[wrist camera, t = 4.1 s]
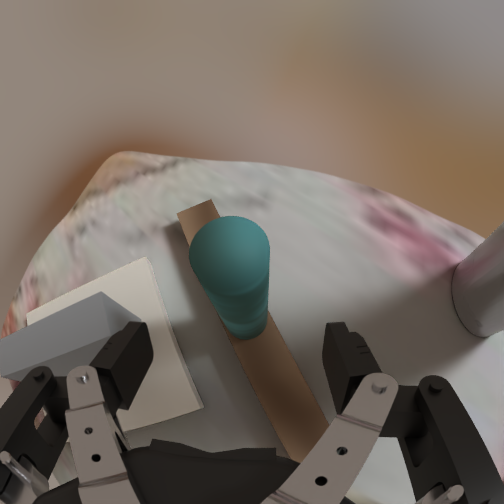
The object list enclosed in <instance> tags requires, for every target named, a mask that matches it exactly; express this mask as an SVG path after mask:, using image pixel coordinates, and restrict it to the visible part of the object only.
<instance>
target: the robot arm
mask: <svg viewBox="0 0 504 504" xmlns="http://www.w3.org/2000/svg"><path fill="white" fill-rule="evenodd" d="M452 295H453V301H454V305H455V308H456V311H457V313H458V316H459V318H460V320H461V321H462V323H463V324H464V326H465V327H466V328H467V329H468V330H469V331H470V332H471V333H473V334H474V335H476V336H479V337H488V336H490V335H493V334H495V333H498V332H500V331H502V330H504V222H503V223H502V224H501V225H500V226H499V227H498V228H497V229H496V230H495V231H494V232H493V233H492V234H491V235H490V236H489V237H488V238H487V239H486V240H485V241H484V242H483V243H482V244H480V245H479V246H478V247H477V248H476V249H475V250H474V251H473V252H472V253H471V254H470V255H469V256H467V257H466V258H465V259H464V260H463V261H462V262H461V263H460V264H459V265H458V266H457V268H456V269H455V272H454V275H453V281H452ZM153 357H154V352H153V347H152V343H151V339H150V335H149V331H148V327H147V324H146V323H145V322H137V321H129V322H128V323H127V325H126V326H125V327H124V328H123V330H122V331H121V330H120V331H118V332H117V333H115V334H114V335H112V336H111V337H110V338H109V340H108V341H107V342H106V344H105V345H104V346H103V347H102V349H101V350H100V351H99V352H98V354H97V355H96V356H95V358H94V359H93V360H92V362H91V363H90V364H89V365H88V366H86V365H84V366H79V367H76V368H74V369H72V370H71V371H70V372H69V373H68V375H67V376H54V374H53V372H52V370H51V369H50V368H49V367H47V366H39V367H36V368H34V369H32V370H31V371H30V372H29V373H28V374H27V375H26V376H25V377H24V379H23V380H22V381H21V382H20V384H19V385H18V386H17V387H16V389H15V390H14V391H13V393H12V394H11V395H10V396H9V398H8V399H7V401H6V402H5V403H4V404H3V406H2V407H1V408H0V504H355V503H354V502H352V501H351V500H349V499H348V498H347V497H345V495H346V493H347V491H348V490H349V488H350V487H351V485H352V484H353V482H354V480H355V479H356V477H357V475H358V474H359V472H360V470H361V468H362V467H363V465H364V463H365V461H366V460H367V458H368V456H369V454H370V452H371V450H372V448H373V446H374V444H375V442H376V440H377V438H378V437H397V439H398V442H399V445H400V448H401V451H402V454H403V457H404V460H405V464H406V467H407V470H408V474H409V477H410V481H411V484H412V488H413V492H414V495H415V499H416V503H415V504H504V485H503V482H502V480H501V477H500V475H499V473H498V471H497V468H496V466H495V464H494V462H493V460H492V458H491V456H490V454H489V452H488V450H487V448H486V446H485V444H484V442H483V440H482V438H481V436H480V434H479V432H478V430H477V429H476V427H475V425H474V423H473V421H472V420H471V418H470V416H469V414H468V413H467V411H466V409H465V408H464V406H463V404H462V402H461V401H460V399H459V397H458V396H457V394H456V393H455V391H454V389H453V388H452V386H451V385H450V383H449V382H448V381H447V380H446V379H444V378H443V377H440V376H436V375H430V376H426V377H424V378H423V379H422V380H421V381H420V383H419V385H418V386H403V385H398V383H397V381H396V380H395V379H394V378H393V377H391V376H390V375H387V374H384V373H382V371H381V369H380V368H379V366H378V364H377V362H376V360H375V358H374V356H373V355H372V353H371V351H370V349H369V347H367V344H366V342H365V340H364V338H363V337H361V336H360V335H359V334H358V333H356V332H349V331H348V329H347V327H346V325H345V323H344V322H334V323H327V324H326V328H325V336H324V344H323V352H322V360H323V366H324V369H325V373H326V376H327V380H328V383H329V387H330V390H331V394H332V397H333V401H334V405H335V408H336V412H337V416H336V417H335V419H334V420H333V421H332V423H331V424H330V426H329V427H328V429H327V430H326V431H325V433H324V434H323V436H322V437H321V438H320V440H319V441H318V442H317V444H316V445H315V446H314V447H313V449H312V450H311V451H310V453H309V454H308V455H307V456H306V458H305V459H304V460H303V461H302V463H299V462H297V461H294V460H292V459H288V458H285V457H280V456H276V448H242V449H236V450H230V451H223V452H215V453H209V452H205V451H202V450H199V449H196V448H193V447H190V446H187V445H184V444H181V443H175V442H169V441H163V440H157V439H152V441H151V444H150V446H146V447H139V448H134V449H131V447H130V445H129V443H128V441H127V438H126V436H125V433H124V431H123V428H122V426H121V423H120V420H119V418H118V415H117V414H116V412H117V410H118V409H123V410H129V408H130V406H131V404H132V402H133V400H134V398H135V396H136V394H137V392H138V390H139V388H140V386H141V384H142V382H143V380H144V378H145V376H146V374H147V372H148V370H149V368H150V366H151V364H152V361H153ZM42 407H43V409H44V410H45V412H46V413H47V414H46V416H45V417H44V419H43V421H42V422H41V424H40V426H39V427H38V429H37V430H36V428H35V426H34V420H35V417H36V416H37V414H38V413H39V411H40V410H41V408H42ZM68 437H69V440H70V445H71V450H72V454H73V459H74V463H75V467H76V471H77V475H78V477H77V478H75V479H73V480H71V481H69V482H67V483H65V484H63V485H60V486H58V487H56V488H54V489H52V490H49V483H48V480H49V477H50V475H51V473H52V471H53V469H54V466H55V464H56V462H57V460H58V458H59V456H60V454H61V452H62V450H63V447H64V445H65V443H66V441H67V439H68Z"/></svg>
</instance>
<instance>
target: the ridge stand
mask: <svg viewBox="0 0 504 504" xmlns="http://www.w3.org/2000/svg"><path fill="white" fill-rule="evenodd" d="M129 321H137V322H145V323H146V324H147V327H148V331H149V335H150V339H151V343H152V347H153V352H154V357H153V361H152V364H151V366H150V368H149V370H148V372H147V374H146V376H145V378H144V380H143V382H142V384H141V386H140V388H139V390H138V392H137V394H136V396H135V398H134V400H133V402H132V404H131V406H130V408H129V410H123V409H118V410H117V412H116V414H117V415H118V418H119V420H120V423H121V426H122V428H123V431H129V430H133V429H137V428H140V427H144V426H148V425H151V424H155V423H158V422H162V421H165V420H168V419H172V418H175V417H178V416H181V415H184V414H187V413H190V412H193V411H196V410H199V409H202V408H204V405H203V403H202V400H201V398H200V396H199V394H198V391H197V389H196V387H195V385H194V382H193V380H192V378H191V375H190V373H189V370H188V368H187V365H186V363H185V361H184V358H183V356H182V353H181V350H180V348H179V345H178V343H177V340H176V337H175V335H174V332H173V329H172V326H171V324H170V321H169V318H168V315H167V312H166V309H165V306H164V303H163V300H162V297H161V294H160V291H159V288H158V285H157V281H156V278H155V275H154V271H153V268H152V265H151V263H150V261H149V260H148V259H147V258H146V256H145V257H143V258H140V259H138V260H136V261H134V262H132V263H129V264H127V265H125V266H123V267H121V268H118V269H116V270H114V271H112V272H110V273H108V274H106V275H103V276H101V277H99V278H97V279H95V280H93V281H91V282H89V283H87V284H84V285H82V286H80V287H78V288H76V289H74V290H72V291H70V292H68V293H66V294H64V295H62V296H60V297H58V298H56V299H54V300H52V301H50V302H48V303H46V304H44V305H42V306H40V307H38V308H36V309H34V310H32V311H30V312H29V313H27V327H24V328H22V329H20V330H18V331H16V332H14V333H12V334H10V335H8V336H6V337H4V338H2V339H0V373H1V377H3V378H8V379H11V380H16V381H20V382H21V381H22V380H23V379H24V377H25V376H26V375H27V374H28V373H29V372H30V371H31V370H32V369H34V368H36V367H39V366H47V367H49V368H50V369H51V370H52V372H53V374H54V376H67V375H68V373H69V372H70V371H71V370H72V369H74V368H76V367H79V366H84V365H86V366H88V365H89V364H90V363H91V362H92V360H93V359H94V358H95V356H96V355H97V354H98V352H99V351H100V350H101V349H102V347H103V346H104V345H105V344H106V342H107V341H108V340H109V338H110V337H111V336H112V335H114V334H115V333H117V332H118V331H120V330H121V331H122V330H123V328H124V327H125V326H126V325H127V323H128V322H129ZM42 408H43V407H42ZM43 412H44V415H45V416H46V414H47V413H46V412H45V410H44V409H43ZM66 442H70V440H69V437H68V439H67V441H66Z"/></svg>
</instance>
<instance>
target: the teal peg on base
mask: <svg viewBox="0 0 504 504" xmlns="http://www.w3.org/2000/svg"><path fill="white" fill-rule="evenodd" d="M177 216H178V218H179V221H180V224H181V226H182V229H183V231H184V234H185V237H186V239H187V242H188V244H189V247H190V248H189V260H190V264H191V267H192V269H193V271H194V272H195V274H196V276H197V278H198V280H199V281H200V283H201V285H202V287H203V288H204V290H205V292H206V294H207V295H208V297H209V299H210V300H211V302H212V304H213V306H214V307H215V309H216V311H217V313H218V315H219V318H220V320H221V322H222V324H223V327H224V329H225V331H226V333H227V335H228V337H229V340H230V342H231V344H232V346H233V348H234V350H235V352H236V354H237V357H238V359H239V361H240V363H241V365H242V367H243V369H244V371H245V373H246V375H247V377H248V379H249V381H250V383H251V385H252V387H253V389H254V391H255V393H256V395H257V397H258V399H259V401H260V403H261V405H262V407H263V409H264V411H265V412H266V414H267V416H268V418H269V420H270V422H271V424H272V426H273V427H274V429H275V431H276V433H277V435H278V437H279V438H280V440H281V442H282V444H283V446H284V447H285V449H286V451H287V453H288V454H289V456H290V458H291V459H292V460H294V461H297V462H299V463H301V462H302V461H303V460H304V459H305V458H306V456H307V455H308V454H309V453H310V451H311V450H312V449H313V447H314V446H315V445H316V444H317V442H318V441H319V440H320V438H321V437H322V436H323V434H324V433H325V431H326V430H327V429H328V427H329V426H330V425H329V424H328V422H327V420H326V418H325V416H324V414H323V413H322V411H321V409H320V407H319V405H318V403H317V402H316V400H315V398H314V396H313V394H312V392H311V390H310V389H309V387H308V385H307V383H306V381H305V379H304V377H303V376H302V374H301V372H300V370H299V368H298V366H297V364H296V362H295V361H294V359H293V357H292V355H291V353H290V351H289V349H288V347H287V345H286V344H285V342H284V340H283V338H282V336H281V334H280V332H279V330H278V328H277V326H276V325H275V323H274V321H273V319H272V317H271V315H270V313H269V311H268V289H269V260H270V246H269V241H268V238H267V236H266V234H265V232H264V231H263V230H262V229H261V228H260V226H258V225H257V224H256V223H254V222H253V221H251V220H249V219H246V218H243V217H238V216H226V217H221V218H220V216H219V214H218V212H217V210H216V208H215V206H214V204H213V202H212V200H211V199H210V200H208V201H205V202H203V203H201V204H198V205H196V206H193V207H191V208H189V209H186V210H184V211H181V212H179V213H177Z"/></svg>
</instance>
